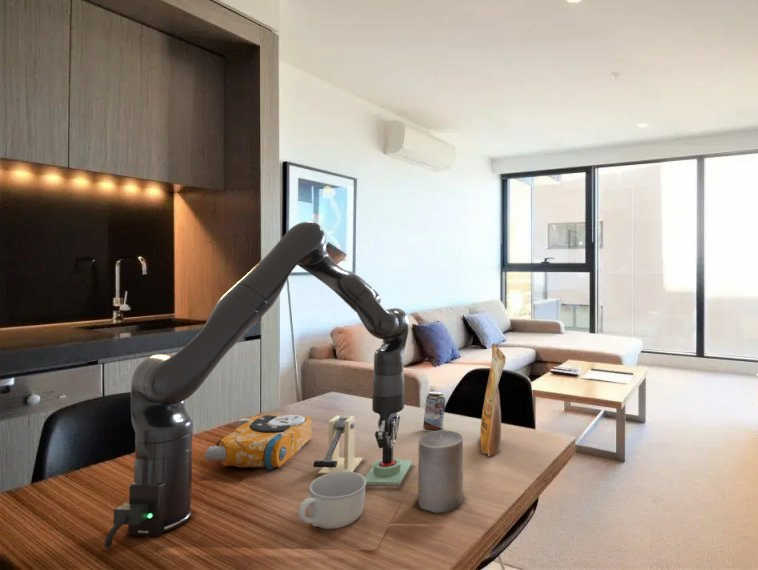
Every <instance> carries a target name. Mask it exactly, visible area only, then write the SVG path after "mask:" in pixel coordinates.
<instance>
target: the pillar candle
mask: <svg viewBox="0 0 758 570" xmlns="http://www.w3.org/2000/svg"><path fill="white" fill-rule="evenodd" d="M463 438H464V437H463V435H462V434H460V433H459V432H456V431H452V430H440V431H434V432H433V431H429V432H427V433H425V434H422V435H421V436H420V437H419V438H418V440H417V441H418V475H417V476H418V479H417V480H418V483H417V485H418V488H417V490H418V491H417V493H418V495H417V497H418V498H417V503H418V504H417V505H418V507H419V508H420V509H422V510H425V511H427V512H431V513H434V514H435V513H436V514H439V513H446V512H451V511H453V510H455V509H457V508H458V507H459V506H460V505H461V504H462V503H463V500H464V499H463V498H464V497H463V496H464V495H463V494H464V439H463Z"/></svg>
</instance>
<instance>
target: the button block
mask: <svg viewBox="0 0 758 570" xmlns="http://www.w3.org/2000/svg"><path fill="white" fill-rule="evenodd" d="M393 460H395V465H393V466H388V467H382V466H380V462H381V461H383V458H379V459H377V460H375V462H374V463H373V465H372V466H371V468H370V469H369V470H368V471H367V473H366V474H365V476H364V477H365V479H366V486H400V485H401V483H402V481H403V480H404V478H405V476H406V474H407V473H408V471H409V469H410V467H411V466H412V465H413V460H412V459H410V460H409V459H408V460H407V459H406V460H405V459H404V460H403V459H401V458H398V457H394V456H393Z"/></svg>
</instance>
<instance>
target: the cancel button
mask: <svg viewBox="0 0 758 570" xmlns="http://www.w3.org/2000/svg"><path fill="white" fill-rule="evenodd" d="M393 465H395V460H392V462H391V463H383V461H381V462H380V466H382V467H388V466H393Z"/></svg>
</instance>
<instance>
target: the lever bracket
mask: <svg viewBox="0 0 758 570" xmlns="http://www.w3.org/2000/svg"><path fill="white" fill-rule="evenodd" d="M339 418H341V416H340V415H335V416H334V417H332V418H331V419H329V420H328V448H329V447H330V445H331V443H332V440H333V438H334V436H335V434H336V428H335V426H336V423H337V421H338V419H339ZM355 452H356V415H350V416H349V417H347V420H346V421H345V433H344V443H343V454H344V455H343V456H340V440H339V441H338V443H337V446H336V448H335V450H334V453H333V455H332V457H331V460H330V461H337V466H336V467H321V469H319V471H318V472H317V473H318V474H329V473H333V472H341V471H349V472H354V471H355V469H356V468H357V467H358V466H359V464H360V463H361V462H362V461H363V460H364V457H357V456H356V455H355V454H356V453H355Z"/></svg>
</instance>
